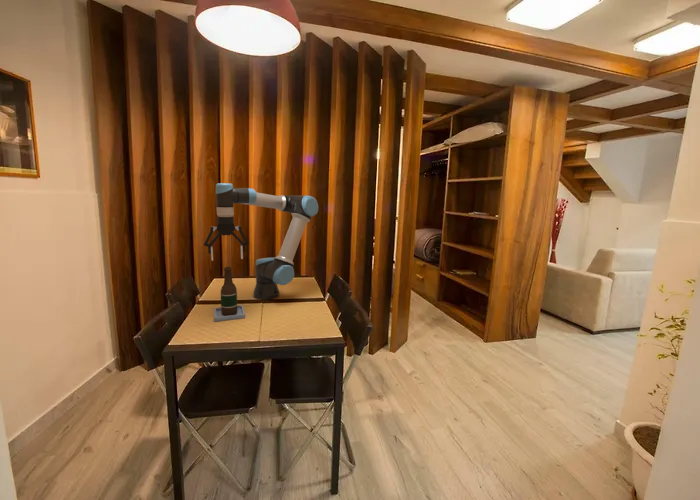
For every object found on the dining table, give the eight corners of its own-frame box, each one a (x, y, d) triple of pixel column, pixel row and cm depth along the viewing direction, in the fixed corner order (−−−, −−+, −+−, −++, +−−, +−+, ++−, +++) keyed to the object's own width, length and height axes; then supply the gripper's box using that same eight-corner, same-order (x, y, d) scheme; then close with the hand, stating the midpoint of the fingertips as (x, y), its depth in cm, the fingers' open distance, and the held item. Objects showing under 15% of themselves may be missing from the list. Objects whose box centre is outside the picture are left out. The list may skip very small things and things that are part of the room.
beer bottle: (232, 317, 154) (230, 270, 149) (218, 315, 155) (215, 268, 151) (240, 311, 161) (239, 266, 157) (227, 310, 163) (225, 265, 158)
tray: (242, 308, 167) (242, 304, 167) (245, 318, 154) (245, 314, 154) (214, 311, 162) (214, 307, 161) (214, 321, 149) (214, 317, 149)
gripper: (251, 215, 158) (252, 256, 162) (197, 215, 148) (199, 259, 152) (253, 216, 151) (254, 259, 155) (196, 216, 141) (199, 262, 145)
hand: (227, 259), depth 153 cm, fingers open, 13 cm apart
